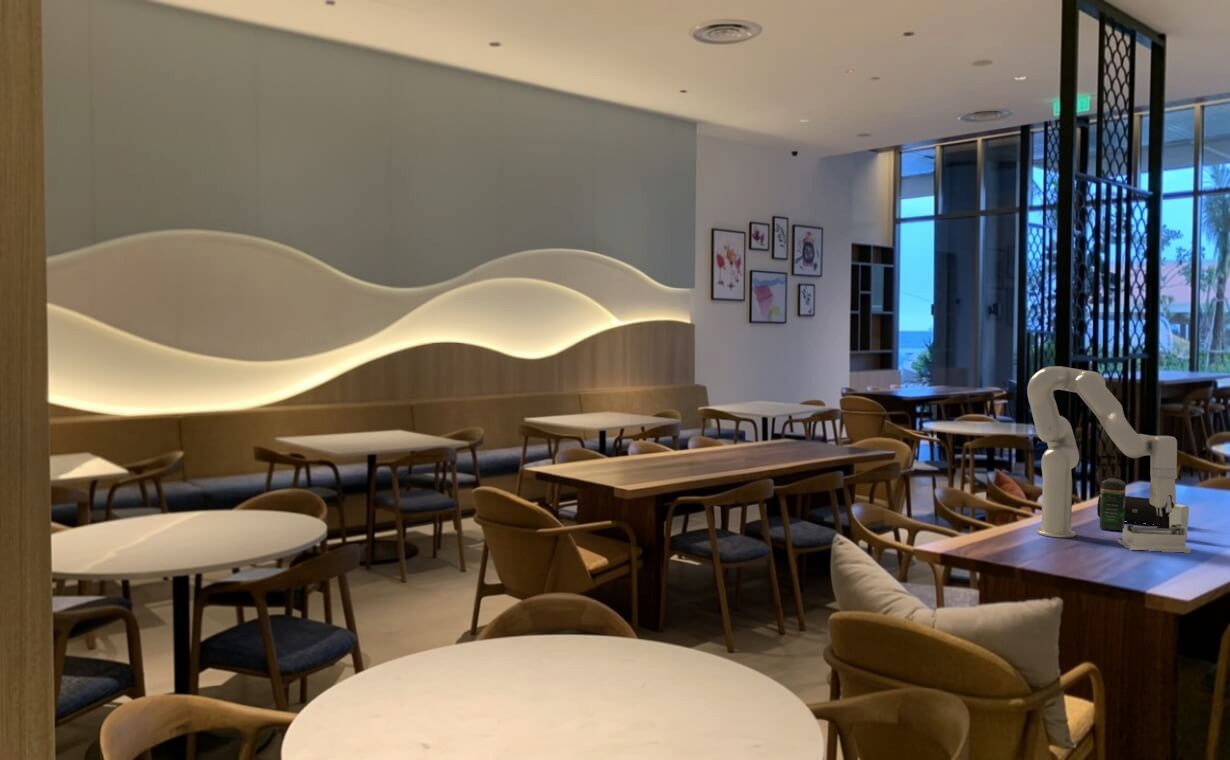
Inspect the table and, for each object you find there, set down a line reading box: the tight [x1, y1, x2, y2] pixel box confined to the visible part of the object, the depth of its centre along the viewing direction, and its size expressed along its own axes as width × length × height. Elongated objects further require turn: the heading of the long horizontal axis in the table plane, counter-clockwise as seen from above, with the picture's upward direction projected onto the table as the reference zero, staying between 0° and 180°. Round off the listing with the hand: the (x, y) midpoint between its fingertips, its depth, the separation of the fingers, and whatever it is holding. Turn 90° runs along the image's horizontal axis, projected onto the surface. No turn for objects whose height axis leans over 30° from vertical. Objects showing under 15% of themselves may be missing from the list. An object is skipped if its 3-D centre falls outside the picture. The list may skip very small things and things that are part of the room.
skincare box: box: [1169, 503, 1190, 541], centre depth 316 cm, size 6×4×12 cm
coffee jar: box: [1099, 477, 1127, 531], centre depth 333 cm, size 10×8×19 cm
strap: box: [1129, 525, 1180, 531], centre depth 303 cm, size 3×15×1 cm, turn 79°
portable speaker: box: [1096, 495, 1178, 526], centre depth 345 cm, size 26×10×10 cm, turn 53°
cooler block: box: [1117, 523, 1192, 554], centre depth 303 cm, size 12×18×8 cm, turn 79°
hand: (1163, 527), depth 302 cm, fingers closed
